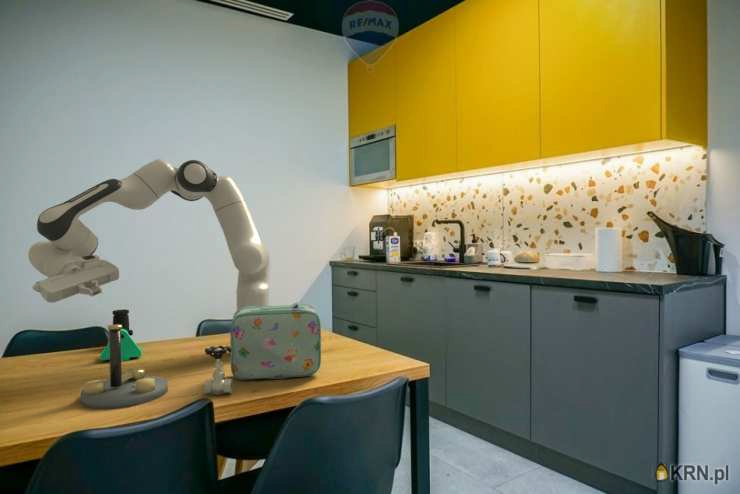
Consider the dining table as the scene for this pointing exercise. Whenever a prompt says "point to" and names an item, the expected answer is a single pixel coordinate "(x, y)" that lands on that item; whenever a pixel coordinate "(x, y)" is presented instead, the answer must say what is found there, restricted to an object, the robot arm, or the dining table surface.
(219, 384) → the valve
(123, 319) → the scope
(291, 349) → the lunch box
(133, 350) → the camera mount
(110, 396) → the plate
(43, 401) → the dining table surface
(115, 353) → the lever
